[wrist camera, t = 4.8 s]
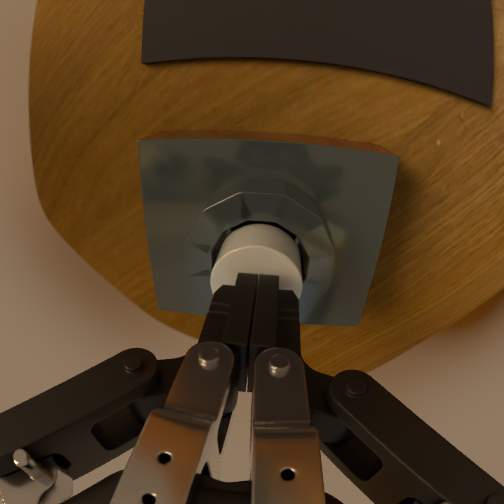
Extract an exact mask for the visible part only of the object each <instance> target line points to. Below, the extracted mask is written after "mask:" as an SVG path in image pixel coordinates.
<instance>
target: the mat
mask: <svg viewBox="0 0 504 504" xmlns="http://www.w3.org/2000/svg"><path fill="white" fill-rule="evenodd" d="M215 58H259V59H280V60H294V61H305V62H315V63H323V64H331V65H338V66H344V67H350V68H356V69H362V70H367V71H372V72H377V73H382V74H386V75H391V76H395V77H399V78H403V79H407V80H411V81H415V82H418V83H422V84H425V85H429V86H432V87H435V88H439V89H442V90H445V91H448V92H451V93H454V94H457V95H460V96H462V97H465V98H468V99H471V100H473V101H476V102H478V103H481V104H483V105H486V106H489V107H491V97H492V82H493V30H492V15H491V4H490V0H145V6H144V19H143V36H142V64H151V63H159V62H169V61H180V60H193V59H215Z"/></svg>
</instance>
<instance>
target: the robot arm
mask: <svg viewBox="0 0 504 504" xmlns="http://www.w3.org/2000/svg"><path fill="white" fill-rule="evenodd" d="M257 286H258V289H257ZM299 319H300V317H299V299H298V298H297V296H296V295H295V293H294V292H293V290H283V289H279V275H266V274H259V281H258V274H253V273H241V272H238V274H237V278H236V282H235V286H233V285H222V286H221V287H220V288H218V289H217V290H216V291H215V292H214V295H213V298H212V301H211V304H210V307H209V310H208V313H207V316H206V319H205V322H204V325H203V329H202V332H201V335H200V338H199V341H198V344H196V345H194V346H192V347H191V348H190V349H189V350H188V351H187V353H186V355H185V356H182V357H179V358H174V359H164V360H157V359H156V357H155V356H154V355H153V354H152V353H151V352H150V351H148V350H145V349H142V348H132V349H127V350H125V351H122V352H120V353H118V354H117V355H115V356H113V357H111V358H109V359H107V360H105V361H103V362H102V363H99V364H98V365H96V366H94V367H92V368H90V369H88V370H86V371H84V372H82V373H80V374H78V375H76V376H74V377H72V378H71V379H68V380H67V381H65V382H63V383H61V384H59V385H57V386H55V387H53V388H51V389H49V390H47V391H45V392H43V393H41V394H39V395H37V396H35V397H33V398H31V399H29V400H27V401H25V402H23V403H21V404H19V405H16V406H14V407H13V408H10V409H8V410H6V411H4V412H2V413H0V497H1V499H2V502H3V504H343V503H342V502H341V501H339V500H338V499H337V498H335V497H333V496H332V495H330V494H328V493H326V492H324V483H323V473H322V464H321V454H320V450H321V451H322V452H323V453H324V454H325V455H326V456H327V457H328V458H329V459H330V460H331V461H332V462H333V463H334V464H335V465H336V466H337V467H338V469H339V470H340V471H341V472H342V473H343V474H344V475H345V476H346V477H347V478H349V479H350V481H352V482H353V483H354V484H355V485H356V486H357V487H358V488H359V489H360V490H361V491H362V492H363V493H364V494H365V495H366V496H367V497H368V498H369V499H370V500H371V501H372V502H374V503H375V504H504V487H503V486H502V485H501V484H500V483H498V482H497V481H496V480H495V479H494V478H492V477H491V476H490V475H489V474H487V473H486V472H485V471H484V470H483V469H481V468H480V467H479V466H478V465H476V464H475V463H474V462H473V461H471V460H470V459H469V458H468V457H466V456H465V455H464V454H463V453H462V452H460V451H459V450H458V449H457V448H455V447H454V446H453V445H452V444H451V443H449V442H448V441H447V440H446V439H445V438H443V437H442V436H441V435H440V434H438V433H437V432H436V431H435V430H434V429H432V428H431V427H430V426H429V425H427V424H426V423H425V422H424V421H423V420H422V419H420V418H419V417H418V416H417V415H416V414H414V413H413V412H412V411H411V410H410V409H408V408H407V407H406V406H405V405H404V404H403V403H401V402H400V401H399V400H398V399H397V398H395V397H394V396H393V395H392V394H391V393H390V392H388V391H387V390H386V389H385V388H384V387H382V386H381V385H380V384H379V383H378V382H377V381H375V380H374V379H373V378H372V377H371V376H369V375H368V374H366V373H364V372H362V371H358V370H346V371H342V372H340V373H338V374H337V375H336V376H335V377H333V376H329V375H326V374H323V373H320V372H317V371H315V370H313V369H312V368H310V367H309V366H308V365H307V364H306V363H305V362H304V360H303V359H302V356H301V349H300V320H299ZM247 377H248V391H247V392H252V404H251V426H250V461H249V480H248V481H239V482H230V483H229V482H222V481H219V476H220V471H221V463H222V457H223V453H224V450H225V446H226V442H227V438H228V435H229V431H230V426H231V423H232V419H233V415H234V411H235V406H236V403H237V397H238V391H243V392H245V391H246V384H247ZM133 447H134V449H133V451H132V453H131V456H130V458H129V460H128V462H127V465H126V467H125V469H124V470H121V471H118V472H116V473H113V474H111V475H109V476H108V477H106V478H104V479H103V480H101V481H99V482H98V483H96V484H94V485H92V486H91V487H89V488H87V489H86V490H84V491H82V492H80V493H78V494H77V495H75V496H73V497H71V496H72V495H73V480H75V479H77V478H79V477H81V476H83V475H85V474H87V473H89V472H91V471H93V470H94V469H96V468H98V467H100V466H102V465H104V464H105V463H107V462H109V461H111V460H112V459H114V458H116V457H118V456H119V455H121V454H123V453H125V452H126V451H128V450H130V449H131V448H133ZM70 497H71V498H70ZM67 498H70V499H68V500H66V499H67ZM65 500H66V501H65ZM63 501H64V502H63Z"/></svg>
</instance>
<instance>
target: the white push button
mask: <svg viewBox="0 0 504 504" xmlns="http://www.w3.org/2000/svg"><path fill="white" fill-rule="evenodd" d="M238 272H241V273H253V274H258V281H259V274H266V275H279V289H283V290H293V292H294V293H295V295H296V296H297V298H298V299H300V297H301V294H302V289H303V281H302V269H301V257H300V252H299V249H298V246H297V245H296V243H295V241H294V240H293V239H292V238H291V237H290V236H289V235H288V234H287V233H286V232H284V231H283V230H281V229H279V228H277V227H274V226H271V225H267V224H250V225H245V226H243V227H240V228H238V229H236V230H234V231H233V232H232V233H230V234H229V235H228V236H227V238H226V239H225V240H224V242H223V244H222V246H221V248H220V251H219V254H218V256H217V259H216V262H215V264H214V267H213V270H212V272H211V277H210V284H211V289H212V293H213V295H214V292H215V291H216V290H217V289H218V288H220V287H221V286H222V285H233V286H235V282H236V278H237V274H238ZM257 289H258V286H257Z"/></svg>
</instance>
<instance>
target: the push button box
mask: <svg viewBox="0 0 504 504" xmlns="http://www.w3.org/2000/svg"><path fill="white" fill-rule="evenodd" d="M138 146H139V162H140V175H141V187H142V198H143V207H144V216H145V225H146V233H147V241H148V248H149V255H150V262H151V268H152V274H153V281H154V286H155V292H156V298H157V303H158V309H159V310H167V311H174V312H182V313H190V314H198V315H207V313H208V310H209V307H210V304H211V301H212V298H213V293H212V289H211V284H210V277H211V272H212V270H213V267H214V264H215V262H216V259H217V256H218V254H219V251H220V248H221V246H222V244H223V242H224V240H225V239H226V238H227V236H228V235H229V234H230V233H232V232H233V231H234V230H236V229H238V228H240V227H243V226H245V225H250V224H267V225H271V226H274V227H277V228H279V229H281V230H283V231H284V232H286V233H287V234H288V235H289V236H290V237H291V238H292V239H293V240H294V241H295V243H296V245H297V246H298V249H299V252H300V257H301V269H302V281H303V289H302V294H301V297H300V299H299V317H300V319H299V320H300V324H315V325H336V326H358V325H359V322H360V318H361V315H362V312H363V309H364V306H365V303H366V300H367V296H368V293H369V290H370V286H371V283H372V279H373V276H374V272H375V269H376V265H377V261H378V257H379V253H380V250H381V246H382V242H383V237H384V233H385V229H386V225H387V220H388V216H389V211H390V206H391V201H392V196H393V191H394V186H395V181H396V175H397V169H398V163H399V156H398V155H396V154H394V153H393V152H391V151H389V150H388V149H386V148H384V147H382V146H381V145H376V144H370V143H364V142H357V141H350V140H343V139H335V138H326V137H317V136H308V135H297V134H284V133H270V132H251V131H215V130H192V131H161V132H158V133H155V134H153V135H150V136H147V137H145V138H142V139H140V140H138Z"/></svg>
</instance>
